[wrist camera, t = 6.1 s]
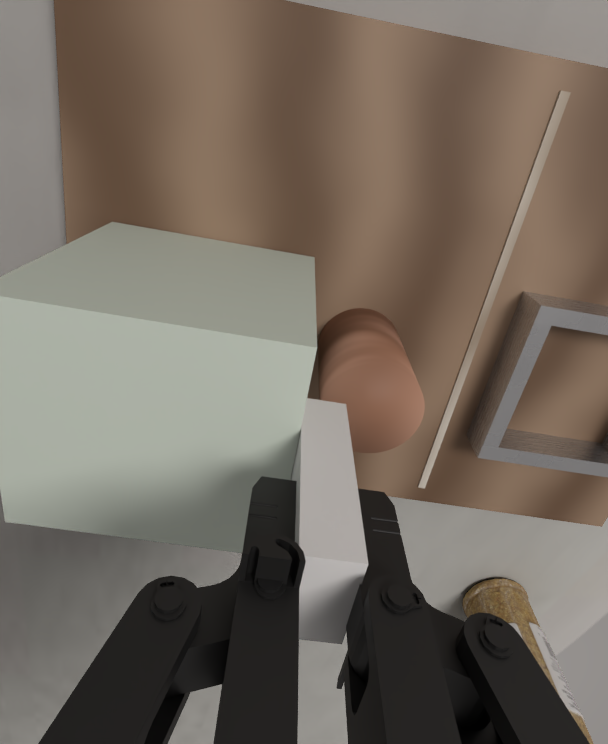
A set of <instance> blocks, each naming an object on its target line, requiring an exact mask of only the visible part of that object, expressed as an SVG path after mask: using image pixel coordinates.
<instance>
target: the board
mask: <svg viewBox="0 0 608 744" xmlns="http://www.w3.org/2000/svg"><path fill="white" fill-rule="evenodd" d="M54 12H55V31H56V50H57V69H58V88H59V107H60V126H61V145H62V164H63V183H64V202H65V221H66V240H67V244H68V243H70V242H72V241H74V240H76V239H78V238H80V237H82V236H84V235H86V234H88V233H90V232H92V231H94V230H96V229H98V228H101V227H103V226H105V225H107V224H109V223H111V222H117V223H122V224H128V225H134V226H139V227H145V228H151V229H157V230H162V231H168V232H174V233H179V234H185V235H191V236H197V237H202V238H208V239H214V240H219V241H225V242H231V243H236V244H242V245H248V246H254V247H259V248H265V249H271V250H276V251H282V252H288V253H293V254H299V255H305V256H311V257H315V289H316V323H317V351H316V356H315V361H314V366H313V371H312V376H311V381H310V386H309V391H308V396H307V398H310V399H317V400H323V401H330V402H336V403H343V404H346V407H347V414H348V421H349V429H350V436H351V443H352V450H353V457H354V464H355V472H356V479H357V486H358V488H359V489H366V490H373V491H380V492H385V494H386V495H387V496H392V497H399V498H406V499H413V500H420V501H427V502H434V503H441V504H448V505H455V506H462V507H469V508H476V509H483V510H490V511H497V512H504V513H511V514H518V515H525V516H532V517H539V518H546V519H553V520H560V521H567V522H573V523H580V524H587V525H594V526H601V527H602V525H603V524H604V522H605V521H606V519H607V517H608V477H601V476H595V475H588V474H581V473H575V472H568V471H562V470H555V469H548V468H542V467H535V466H528V465H522V464H515V463H508V462H502V461H495V460H488V459H482V458H477V456H476V454H475V452H474V450H473V448H472V446H471V444H470V442H469V440H468V438H467V436H466V435H467V432H468V429H469V427H470V424H471V422H472V419H473V417H474V414H475V412H476V409H477V407H478V404H479V402H480V399H481V396H482V394H483V391H484V389H485V386H486V384H487V381H488V379H489V376H490V374H491V371H492V369H493V366H494V363H495V361H496V358H497V356H498V353H499V351H500V348H501V346H502V343H503V341H504V338H505V336H506V333H507V330H508V328H509V325H510V323H511V320H512V318H513V315H514V313H515V310H516V308H517V305H518V302H519V300H520V297H521V295H522V292H523V291H526V292H531V293H537V294H543V295H548V296H554V297H560V298H565V299H571V300H577V301H583V302H588V303H594V304H600V305H605V306H608V68H603V67H599V66H594V65H589V64H584V63H580V62H575V61H570V60H565V59H561V58H556V57H551V56H546V55H542V54H537V53H532V52H527V51H523V50H518V49H513V48H508V47H504V46H499V45H494V44H489V43H485V42H480V41H475V40H470V39H466V38H461V37H456V36H451V35H447V34H442V33H437V32H432V31H428V30H423V29H418V28H413V27H409V26H404V25H399V24H394V23H390V22H385V21H380V20H375V19H371V18H366V17H361V16H356V15H352V14H347V13H342V12H337V11H333V10H328V9H323V8H318V7H314V6H309V5H304V4H299V3H295V2H290V1H285V0H54ZM507 429H513V430H520V431H526V432H533V433H539V434H546V435H552V436H558V437H565V438H571V439H578V440H584V441H591V442H597V443H602V442H603V440H604V439H605V437H606V435H607V433H608V335H603V334H597V333H592V332H586V331H580V330H574V329H568V328H562V327H557V326H551V328H550V330H549V333H548V335H547V337H546V340H545V342H544V344H543V346H542V349H541V351H540V353H539V356H538V358H537V360H536V362H535V365H534V367H533V369H532V372H531V374H530V376H529V378H528V381H527V383H526V385H525V388H524V390H523V392H522V395H521V397H520V399H519V401H518V404H517V406H516V408H515V411H514V413H513V415H512V417H511V420H510V422H509V424H508V427H507Z"/></svg>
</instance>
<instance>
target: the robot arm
mask: <svg viewBox="0 0 608 744" xmlns="http://www.w3.org/2000/svg"><path fill="white" fill-rule="evenodd" d="M397 521H398V520H397V516H396V511H395V507H394V505H393V503H392V502H391V501H390V499H389V498H388V497H387V495H386V494H385V492H380V491H373V490H366V489H359V488H358V486H357V479H356V472H355V464H354V457H353V450H352V443H351V436H350V429H349V421H348V414H347V407H346V404H343V403H336V402H330V401H323V400H317V399H310V398H307V401H306V406H305V411H304V416H303V420H302V425H301V430H300V435H299V440H298V445H297V450H296V455H295V460H294V465H293V470H292V475H291V480H286V479H278V478H271V477H264V476H261V478H260V479H259V480H258V481H257V482H256V484H255V485H254V486H253V487H252V493H251V499H250V506H249V512H248V518H247V525H246V531H245V538H244V544H243V551H242V558H241V563H240V566H239V568H238V569H237V571H236V572H235V573H234V574H233V575H232V576H231V577H230V578H229V579H227V580H225V581H223V582H221V583H218V584H215V585H211V586H206V587H200V588H197V587H196V586H195V585H194V583H192V582H190V581H188V580H187V579H185V578H182V577H176V576H168V577H162V578H158V579H156V580H154V581H152V582H150V583H148V584H147V585H146V586H145V587H144V588H143V589H142V590H141V591H140V592H139V593H138V594H137V596H136V597H135V599H134V600H133V602H132V603H131V605H130V606H129V608H128V609H127V611H126V613H125V614H124V616H123V617H122V619H121V620H120V622H119V623H118V625H117V626H116V628H115V629H114V631H113V632H112V634H111V635H110V637H109V638H108V640H107V641H106V643H105V644H104V646H103V647H102V649H101V650H100V652H99V653H98V655H97V656H96V658H95V659H94V661H93V662H92V664H91V665H90V667H89V668H88V670H87V671H86V673H85V674H84V676H83V677H82V679H81V680H80V682H79V683H78V685H77V686H76V688H75V689H74V691H73V692H72V694H71V695H70V697H69V698H68V700H67V701H66V703H65V704H64V706H63V707H62V709H61V710H60V712H59V713H58V715H57V716H56V718H55V719H54V721H53V722H52V724H51V725H50V727H49V728H48V730H47V731H46V733H45V734H44V736H43V737H42V739H41V740H40V742H39V744H168V741H169V739H170V737H171V735H172V732H173V730H174V728H175V726H176V723H177V721H178V719H179V717H180V714H181V712H182V710H183V708H184V706H185V703H186V701H187V699H188V697H189V694H190V692H192V691H196V690H200V689H204V688H208V687H212V686H216V685H220V684H222V690H221V697H220V704H219V710H218V717H217V724H216V730H215V737H214V744H297V725H298V650H299V639H301V640H310V641H319V642H328V643H336V644H342V642H343V639H344V636H345V633H346V630H347V643H348V651H347V654H346V657H345V660H344V662H343V665H342V668H341V671H340V674H339V677H338V682H337V689H342V686H343V683H344V685H345V700H346V716H347V731H348V744H590V743H589V741H588V740H587V738H586V737H585V735H584V734H583V732H582V731H581V729H580V727H579V726H578V724H577V723H576V721H575V720H574V718H573V717H572V715H571V713H570V712H569V710H568V709H567V707H566V706H565V704H564V703H563V701H562V699H561V698H560V696H559V695H558V693H557V692H556V690H555V689H554V687H553V685H552V684H551V682H550V681H549V679H548V678H547V676H546V675H545V673H544V671H543V670H542V668H541V667H540V665H539V664H538V662H537V661H536V659H535V657H534V656H533V654H532V653H531V651H530V650H529V648H528V647H527V645H526V643H525V642H524V640H523V639H522V637H521V636H520V635H519V634H518V632H517V631H516V630H515V629H514V628H513V627H512V626H511V625H510V624H508V623H507V622H506V621H504V620H503V619H502V618H500V617H497V616H495V615H492V614H490V613H480V612H478V613H475V614H473V615H470V616H469V617H468V619H467V620H466V621H465V622H464V621H462V620H459V619H457V618H455V617H452V616H450V615H448V614H445V613H443V612H441V611H439V610H437V609H435V608H433V607H432V606H431V605H429V604H428V603H427V602H426V601H425V598H424V596H423V594H422V593H421V592H420V590H419V589H418V588H417V587H416V586H415V585H414V584H413V583H412V580H411V577H410V573H409V568H408V564H407V559H406V555H405V551H404V546H403V542H402V538H401V535H400V529H399V524H398V523H397Z"/></svg>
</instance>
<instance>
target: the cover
mask: <svg viewBox="0 0 608 744" xmlns="http://www.w3.org/2000/svg"><path fill="white" fill-rule="evenodd" d="M316 351H317V323H316V289H315V257H311V256H305V255H299V254H293V253H288V252H282V251H276V250H271V249H265V248H259V247H254V246H248V245H242V244H236V243H231V242H225V241H219V240H214V239H208V238H202V237H197V236H191V235H185V234H179V233H174V232H168V231H162V230H157V229H151V228H145V227H139V226H134V225H128V224H122V223H117V222H111V223H109V224H107V225H105V226H103V227H101V228H98V229H96V230H94V231H92V232H90V233H88V234H86V235H84V236H82V237H80V238H78V239H76V240H74V241H72V242H70V243H68V244H66V245H64V246H62V247H60V248H58V249H56V250H54V251H52V252H50V253H48V254H46V255H44V256H42V257H40V258H38V259H35V260H33V261H31V262H29V263H27V264H25V265H23V266H21V267H19V268H17V269H15V270H13V271H11V272H9V273H7V274H5V275H3V276H1V277H0V492H1V498H2V505H3V512H4V518H5V522H10V523H17V524H25V525H32V526H40V527H48V528H55V529H63V530H70V531H78V532H85V533H93V534H100V535H108V536H116V537H123V538H131V539H138V540H146V541H153V542H161V543H168V544H176V545H184V546H191V547H199V548H206V549H214V550H221V551H229V552H236V553H242V551H243V544H244V538H245V531H246V525H247V518H248V512H249V506H250V499H251V493H252V487H253V486H254V485H255V484H256V482H257V481H258V480H259V479H260V478H261V476H264V477H271V478H278V479H286V480H291V475H292V470H293V465H294V460H295V455H296V450H297V445H298V440H299V435H300V430H301V425H302V420H303V416H304V411H305V406H306V401H307V396H308V391H309V386H310V381H311V376H312V371H313V366H314V361H315V356H316Z"/></svg>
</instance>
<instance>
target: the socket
mask: <svg viewBox="0 0 608 744" xmlns="http://www.w3.org/2000/svg"><path fill="white" fill-rule="evenodd" d="M551 326H557V327H562V328H568V329H574V330H580V331H586V332H592V333H597V334H603V335H608V306H605V305H600V304H594V303H588V302H583V301H577V300H571V299H565V298H560V297H554V296H548V295H543V294H537V293H531V292H526V291H523V292H522V295H521V297H520V300H519V302H518V305H517V308H516V310H515V313H514V315H513V318H512V320H511V323H510V325H509V328H508V330H507V333H506V336H505V338H504V341H503V343H502V346H501V348H500V351H499V353H498V356H497V358H496V361H495V363H494V366H493V369H492V371H491V374H490V376H489V379H488V381H487V384H486V386H485V389H484V391H483V394H482V396H481V399H480V402H479V404H478V407H477V409H476V412H475V414H474V417H473V419H472V422H471V424H470V427H469V429H468V432H467V435H466V436H467V438H468V440H469V442H470V444H471V446H472V448H473V450H474V452H475V454H476V456H477V458H482V459H488V460H495V461H502V462H508V463H515V464H522V465H528V466H535V467H542V468H548V469H555V470H562V471H568V472H575V473H581V474H588V475H595V476H601V477H608V433H607V435H606V437H605V439H604V440H603V442H602V443H597V442H591V441H584V440H578V439H571V438H565V437H558V436H552V435H546V434H539V433H533V432H526V431H520V430H513V429H507V427H508V424H509V422H510V420H511V417H512V415H513V413H514V411H515V408H516V406H517V404H518V401H519V399H520V397H521V395H522V392H523V390H524V388H525V385H526V383H527V381H528V378H529V376H530V374H531V372H532V369H533V367H534V365H535V362H536V360H537V358H538V356H539V353H540V351H541V349H542V346H543V344H544V342H545V340H546V337H547V335H548V333H549V330H550V328H551Z"/></svg>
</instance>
